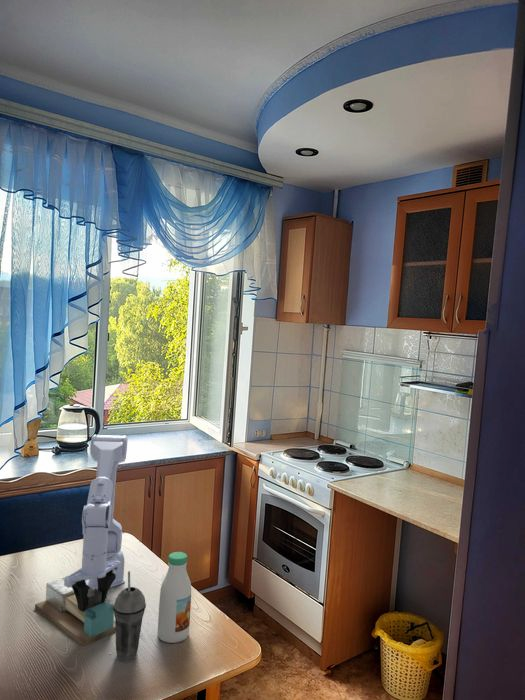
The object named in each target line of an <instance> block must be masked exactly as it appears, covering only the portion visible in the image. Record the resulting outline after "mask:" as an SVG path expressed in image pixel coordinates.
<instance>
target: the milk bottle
mask: <svg viewBox="0 0 525 700" xmlns="http://www.w3.org/2000/svg"><path fill="white" fill-rule="evenodd" d="M187 564H188V554H186V553H185V552H183V551H175V552H171V553H170V554H169V555H168V570H167V572H166V574H165V576H164V578H163V580H162V582H161V585H160V586H161V587H160V590H159V591H160V593H159V603H158V604H159V605H158V619H157V636H158V638H159V640H161V641H162V642H165V643H169V644H177V643H180V642H182V641H183V642H184V641H185V640H186V639H187V638H188V637H189V634H190V622H191V609H192V608H191V607H192V583H191V579H190V577H189V574H188V572H187V571H188V570H187Z"/></svg>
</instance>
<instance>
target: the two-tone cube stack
mask: <svg viewBox="0 0 525 700" xmlns="http://www.w3.org/2000/svg"><path fill="white" fill-rule="evenodd" d="M101 599H102V592H100V591H99V590H97V589H96V588H95V589H93V590H92V589H91V590H90V589H89V591H88V594H87V600H86V610H87V609H89V608H91V607H94V606H96V605H99V604H101ZM64 608H65V609H66V610H68V611H69V612H71V613H72V614H73V615H75V616H76V617H78V618H79V619H80V620H82V621H83V622H84V619H85V611H84V612H82V611H80V610H79V609H78V604H77V599H76V596H75V593H71V594H69V595H66V596H64Z"/></svg>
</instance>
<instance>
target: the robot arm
mask: <svg viewBox="0 0 525 700" xmlns="http://www.w3.org/2000/svg"><path fill="white" fill-rule="evenodd" d="M90 439H91V440H90V449H89V451H90V456H91V458H92V460H93V462H96V463H97V465H96V478H94V479H92V480H91V482H90V486H89V491H88V494H87V495H88V496H87V502H86V505H84V506H83V509H82V515H81V524H82V536H83V540H82V541H83V542H82V558H81V568H80V569H77V570H76V571H75V572H73V573H71V574H69V575H67V576H64V577H63V578H64V585H65V586H66V587H68V588H70V587H72V589H73V591H74V593H75V596H76V599H77V604H78V609H79V610H80V611H82V612H84V611H85V610H86V600H87V594H88V591H90V589H91V590H93V589H95V588H96V589H97V590H99V591H100V592H102V599H101V603H104V602H106V599H107V596H108V593H109V590H110V589H112V588H113V587H114V588H115V587H116V586H119V585H121V584H123V583H124V584H125V583H126V580H125V579H124V576H125V575H124V574H125V557H124V555H125V554H124V552H122V541H123V526H122V524H121V523H120V522H118V521H117V520H116V519H114V512H115V511H114V510H115V497H116V496H115V495H116V483H117V482H116V481H117V469H118V466H119V464H121V463H123V462H125V461H126V460H127V452H128V451H127V450H128V436H127V435H126V434H124V435H115V434H114V435H111V434H110V435H109V434H108V435H106V434H96V433H95V434H93V435H92V436H91V438H90Z"/></svg>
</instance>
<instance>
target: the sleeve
mask: <svg viewBox="0 0 525 700" xmlns="http://www.w3.org/2000/svg"><path fill="white" fill-rule="evenodd" d="M45 589H46V590H45V600H46V602H47V603H48V604H50V605H51V606H52V607H54V608H55V609H56V610H58V611H59V612H61V613H63V612H65V611H68V610H66V609H65V608H64V596H66V595H69V594H71V593H74V591H73V589H72V587H70V588H68V587H66V586H65V585H64V577H63V578H58V579H56V580H54V581H51V582H47V583H46V588H45Z"/></svg>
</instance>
